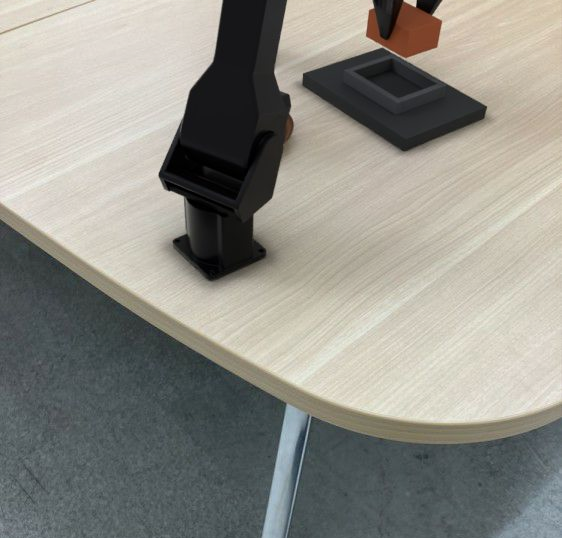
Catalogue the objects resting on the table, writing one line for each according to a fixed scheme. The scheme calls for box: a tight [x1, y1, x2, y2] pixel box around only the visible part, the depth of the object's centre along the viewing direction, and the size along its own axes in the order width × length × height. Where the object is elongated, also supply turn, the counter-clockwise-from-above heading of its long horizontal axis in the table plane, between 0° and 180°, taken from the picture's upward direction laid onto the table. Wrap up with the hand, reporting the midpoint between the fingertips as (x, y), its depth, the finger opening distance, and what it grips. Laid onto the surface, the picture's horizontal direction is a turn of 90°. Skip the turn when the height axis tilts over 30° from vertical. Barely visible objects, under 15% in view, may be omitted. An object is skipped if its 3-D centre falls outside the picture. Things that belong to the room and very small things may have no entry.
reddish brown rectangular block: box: [365, 0, 443, 59], centre depth 87 cm, size 6×5×3 cm
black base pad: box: [301, 47, 488, 152], centre depth 93 cm, size 18×13×3 cm
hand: (402, 32), depth 88 cm, fingers closed on reddish brown rectangular block, 5 cm apart
